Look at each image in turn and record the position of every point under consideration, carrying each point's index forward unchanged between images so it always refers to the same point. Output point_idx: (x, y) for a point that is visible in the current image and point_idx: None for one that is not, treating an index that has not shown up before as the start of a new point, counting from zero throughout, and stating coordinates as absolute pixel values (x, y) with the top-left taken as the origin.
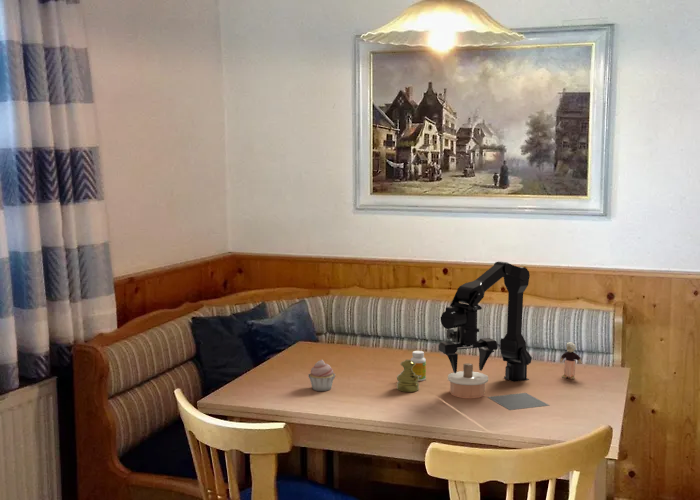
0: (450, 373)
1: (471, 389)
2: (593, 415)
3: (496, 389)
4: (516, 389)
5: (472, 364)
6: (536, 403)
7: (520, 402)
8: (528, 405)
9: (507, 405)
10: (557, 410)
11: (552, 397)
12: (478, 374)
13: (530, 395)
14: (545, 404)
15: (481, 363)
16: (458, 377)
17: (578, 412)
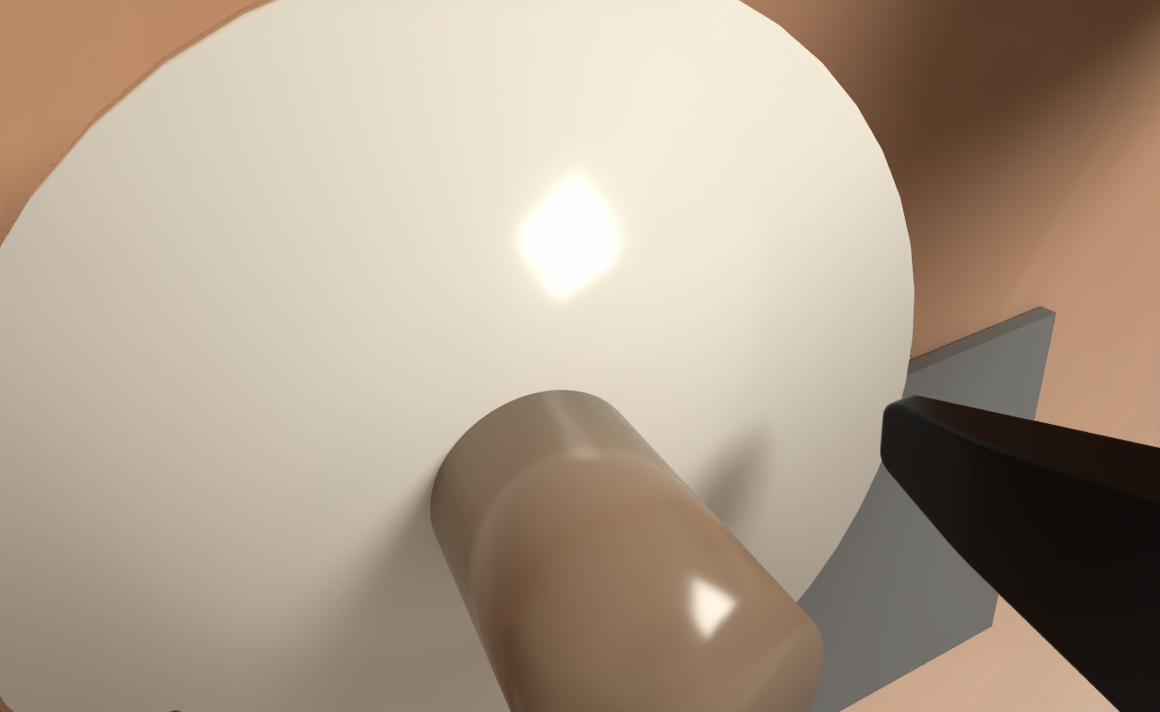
0: (49, 187)
1: None
2: (1069, 704)
3: (897, 81)
4: (1076, 114)
5: (812, 688)
6: (943, 605)
7: (854, 604)
8: (866, 664)
9: None
10: (975, 672)
11: (1139, 394)
12: (805, 319)
13: (1034, 401)
14: (980, 616)
15: (1042, 591)
16: (286, 585)
17: (1044, 677)
